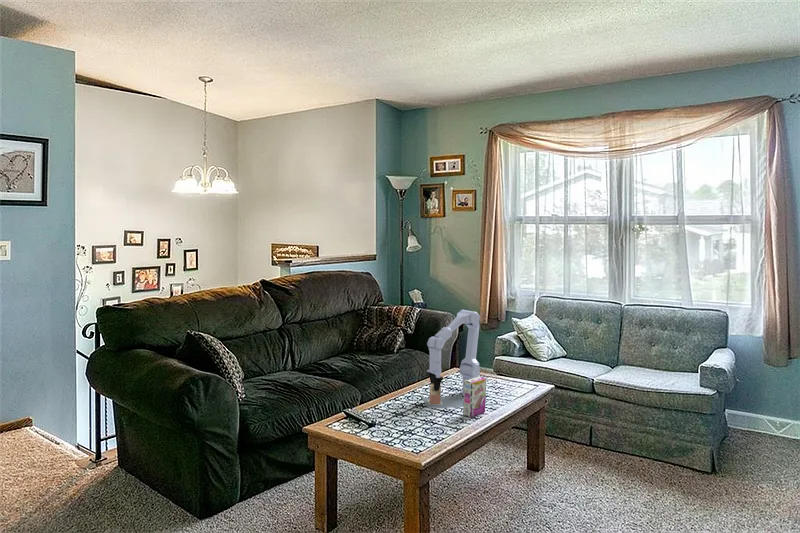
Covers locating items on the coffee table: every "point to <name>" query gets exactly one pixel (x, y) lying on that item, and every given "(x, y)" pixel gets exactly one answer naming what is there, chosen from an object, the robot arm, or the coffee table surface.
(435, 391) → the maple block
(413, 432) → the coffee table surface
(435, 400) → the brick-red base block
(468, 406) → the candy bar box
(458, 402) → the grey flat plate
